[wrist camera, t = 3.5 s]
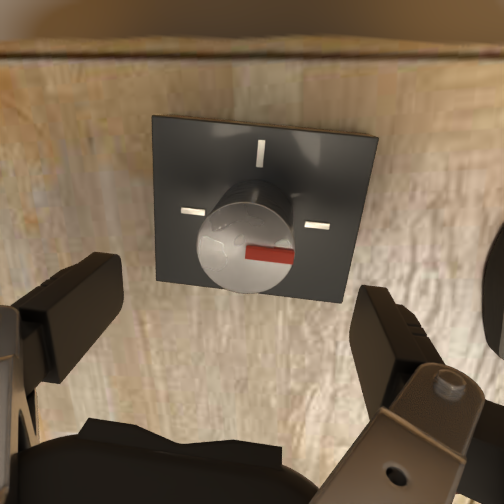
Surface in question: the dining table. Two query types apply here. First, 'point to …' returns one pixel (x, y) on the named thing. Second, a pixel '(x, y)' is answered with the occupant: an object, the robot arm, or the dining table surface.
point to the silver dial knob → (248, 238)
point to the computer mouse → (495, 298)
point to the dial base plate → (269, 170)
